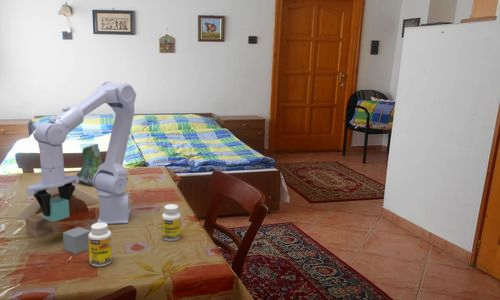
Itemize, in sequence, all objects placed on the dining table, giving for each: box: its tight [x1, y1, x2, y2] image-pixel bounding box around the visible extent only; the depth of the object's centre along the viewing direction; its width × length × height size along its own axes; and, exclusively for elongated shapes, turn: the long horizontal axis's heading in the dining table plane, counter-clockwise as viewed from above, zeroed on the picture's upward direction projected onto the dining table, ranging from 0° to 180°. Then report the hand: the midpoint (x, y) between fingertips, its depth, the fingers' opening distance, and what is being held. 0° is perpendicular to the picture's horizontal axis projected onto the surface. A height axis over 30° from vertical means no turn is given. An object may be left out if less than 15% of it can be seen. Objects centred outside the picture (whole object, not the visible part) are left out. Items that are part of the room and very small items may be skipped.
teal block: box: [41, 196, 71, 223], centre depth 119 cm, size 5×5×5 cm
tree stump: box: [75, 143, 128, 187], centre depth 176 cm, size 18×20×18 cm
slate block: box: [62, 226, 91, 255], centre depth 116 cm, size 5×5×5 cm
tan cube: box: [24, 212, 53, 238], centre depth 125 cm, size 5×5×5 cm
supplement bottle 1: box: [88, 222, 113, 267], centre depth 108 cm, size 6×6×10 cm
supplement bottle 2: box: [161, 203, 182, 242], centre depth 124 cm, size 5×5×10 cm
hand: (55, 212), depth 119 cm, fingers closed on teal block, 5 cm apart
